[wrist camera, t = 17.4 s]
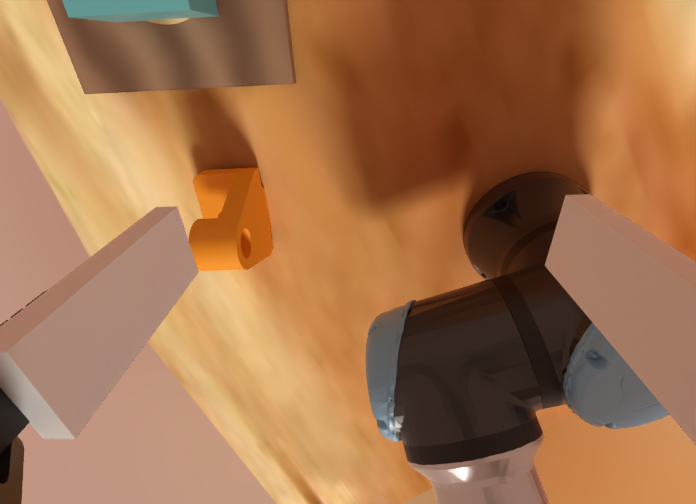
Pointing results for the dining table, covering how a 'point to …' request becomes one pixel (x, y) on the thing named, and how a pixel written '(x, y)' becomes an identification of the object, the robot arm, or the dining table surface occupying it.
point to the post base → (182, 49)
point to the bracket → (230, 220)
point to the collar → (139, 9)
